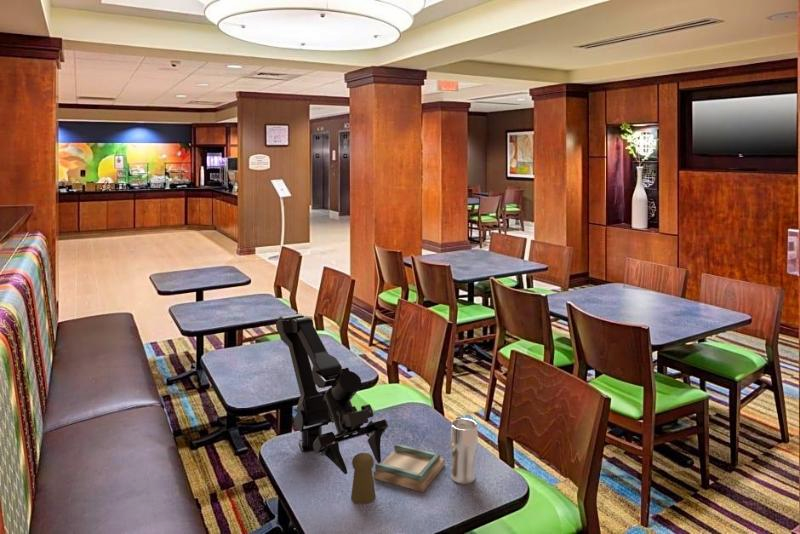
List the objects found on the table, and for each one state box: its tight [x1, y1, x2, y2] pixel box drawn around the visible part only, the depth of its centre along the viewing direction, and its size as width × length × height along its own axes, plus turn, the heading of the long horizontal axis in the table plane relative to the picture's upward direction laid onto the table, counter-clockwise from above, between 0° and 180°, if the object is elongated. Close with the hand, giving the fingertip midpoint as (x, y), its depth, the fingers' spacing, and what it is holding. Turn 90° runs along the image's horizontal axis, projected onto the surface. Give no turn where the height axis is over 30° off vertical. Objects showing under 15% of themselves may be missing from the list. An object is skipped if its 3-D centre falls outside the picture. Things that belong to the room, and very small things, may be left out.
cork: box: [350, 452, 377, 505], centre depth 144 cm, size 6×6×11 cm
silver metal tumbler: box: [449, 417, 479, 485], centre depth 152 cm, size 7×7×15 cm
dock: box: [373, 443, 445, 493], centre depth 156 cm, size 14×14×4 cm
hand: (363, 468), depth 144 cm, fingers open, 9 cm apart
